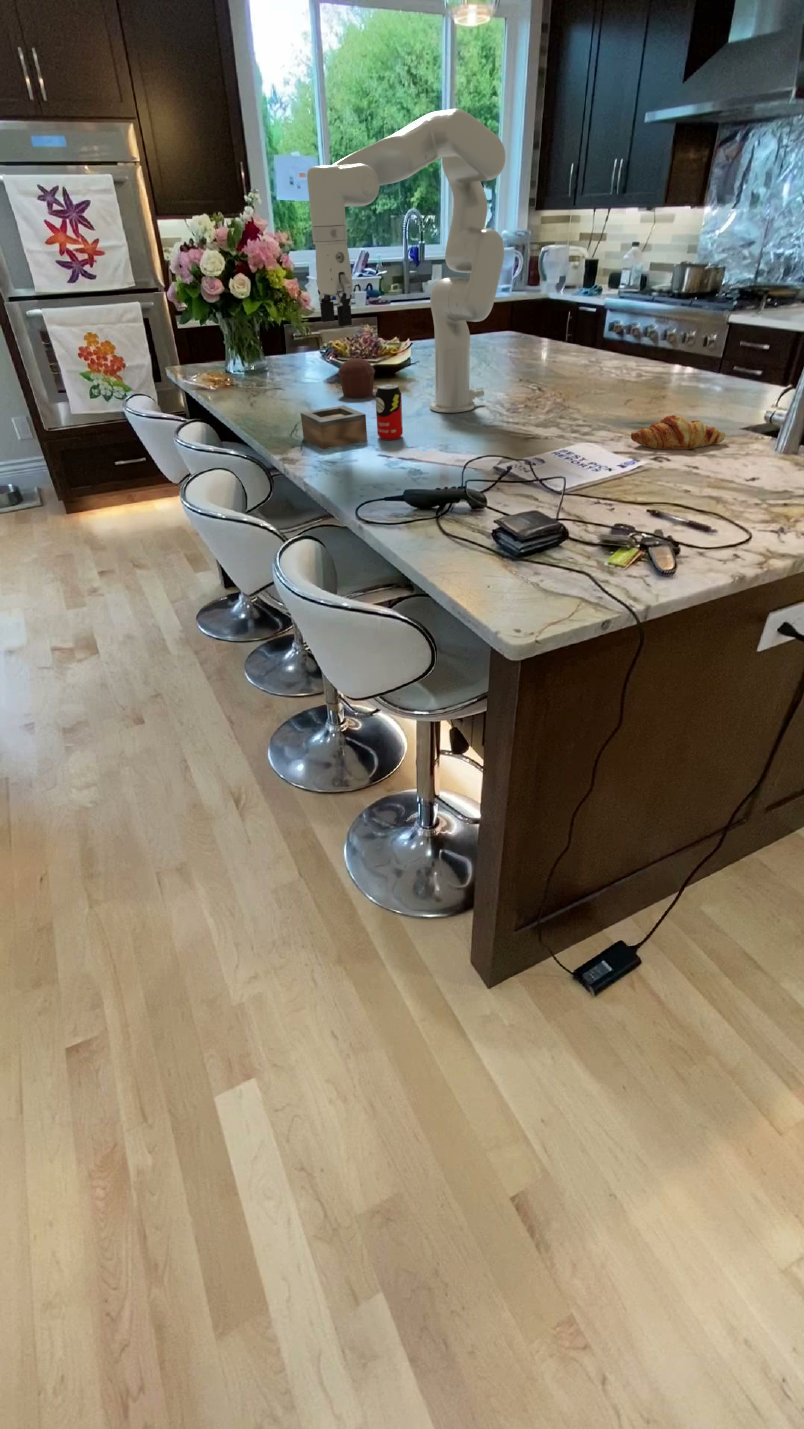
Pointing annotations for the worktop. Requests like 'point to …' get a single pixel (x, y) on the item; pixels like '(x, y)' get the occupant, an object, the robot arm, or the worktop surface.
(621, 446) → the worktop surface
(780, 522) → the worktop surface
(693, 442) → the croissant
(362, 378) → the muffin
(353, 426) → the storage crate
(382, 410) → the beverage can
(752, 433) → the worktop surface
